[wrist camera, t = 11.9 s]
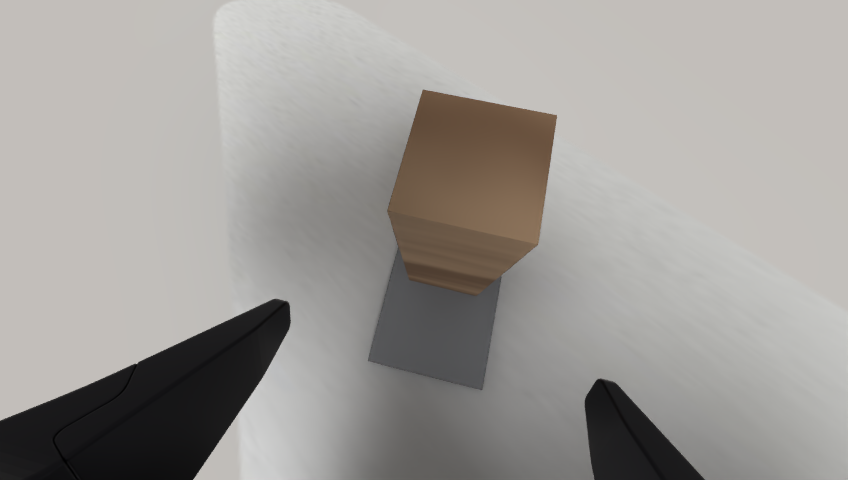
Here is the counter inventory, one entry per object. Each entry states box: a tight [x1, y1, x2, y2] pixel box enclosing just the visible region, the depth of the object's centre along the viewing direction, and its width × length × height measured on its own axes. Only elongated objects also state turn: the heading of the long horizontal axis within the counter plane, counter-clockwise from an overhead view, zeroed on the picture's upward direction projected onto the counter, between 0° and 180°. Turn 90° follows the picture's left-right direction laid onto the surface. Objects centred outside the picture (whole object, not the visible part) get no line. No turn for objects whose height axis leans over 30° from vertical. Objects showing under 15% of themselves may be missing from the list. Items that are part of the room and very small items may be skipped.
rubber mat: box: [368, 247, 502, 390], centre depth 21 cm, size 11×7×1 cm, turn 167°
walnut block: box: [387, 90, 557, 296], centre depth 16 cm, size 4×4×12 cm
